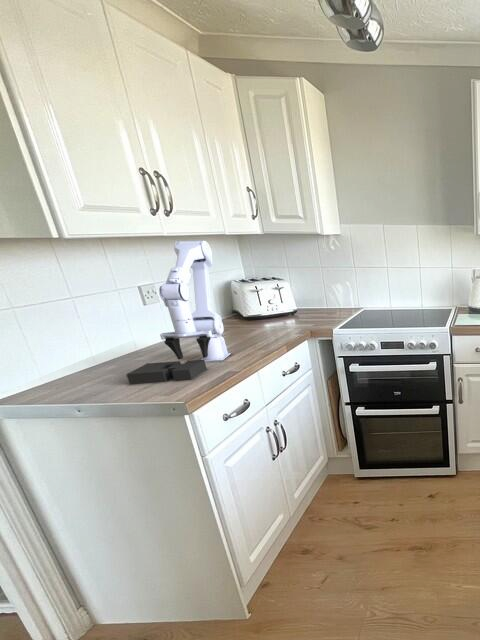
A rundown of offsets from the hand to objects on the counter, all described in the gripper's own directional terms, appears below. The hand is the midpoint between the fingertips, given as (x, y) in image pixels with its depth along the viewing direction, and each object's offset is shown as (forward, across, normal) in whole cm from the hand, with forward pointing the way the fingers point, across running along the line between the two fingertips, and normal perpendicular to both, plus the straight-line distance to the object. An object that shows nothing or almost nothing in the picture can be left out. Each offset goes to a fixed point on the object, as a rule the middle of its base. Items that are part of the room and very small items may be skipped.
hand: (193, 357), depth 145 cm
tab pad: (+5, -1, -5) cm, 7 cm away
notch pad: (+5, -10, -4) cm, 12 cm away
